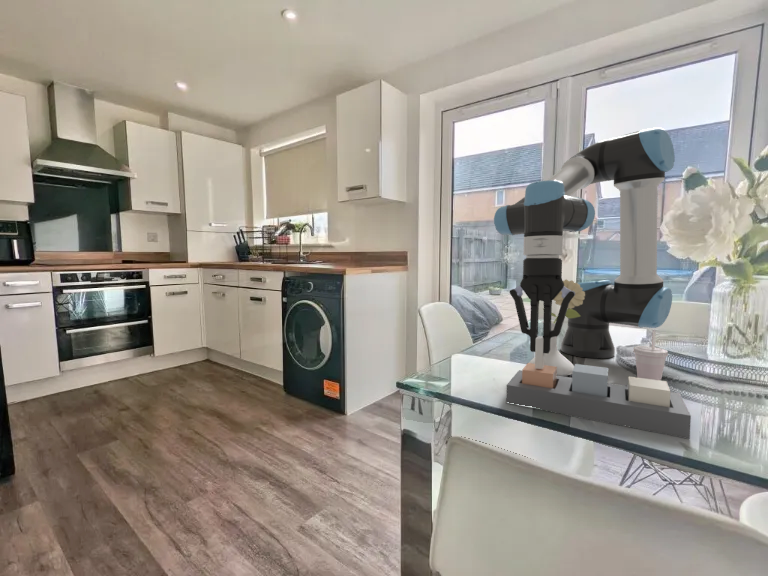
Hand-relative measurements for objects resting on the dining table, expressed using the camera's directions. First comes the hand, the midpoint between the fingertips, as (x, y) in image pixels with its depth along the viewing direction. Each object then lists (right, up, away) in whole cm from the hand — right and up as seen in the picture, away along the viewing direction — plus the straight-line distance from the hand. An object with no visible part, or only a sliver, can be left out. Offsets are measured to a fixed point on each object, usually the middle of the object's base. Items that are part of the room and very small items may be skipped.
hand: (539, 367), depth 79 cm
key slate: (+8, -4, -5) cm, 10 cm away
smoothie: (+27, -7, +5) cm, 28 cm away
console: (+8, -7, -4) cm, 12 cm away
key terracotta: (0, -5, 0) cm, 5 cm away
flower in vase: (+12, -6, +18) cm, 22 cm away
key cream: (+16, -6, -10) cm, 20 cm away
